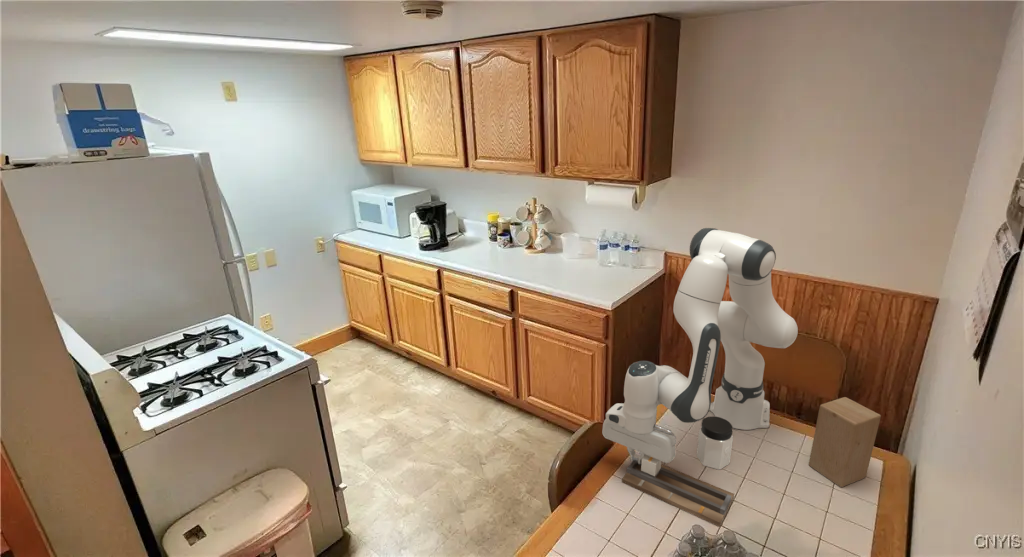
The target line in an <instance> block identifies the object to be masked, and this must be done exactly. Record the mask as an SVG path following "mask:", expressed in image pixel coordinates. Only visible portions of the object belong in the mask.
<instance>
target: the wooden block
mask: <svg viewBox="0 0 1024 557" xmlns="http://www.w3.org/2000/svg"><path fill="white" fill-rule="evenodd" d="M881 417H882V415H881V414H880V413H877V412H875V411H874V410H872V409H870V408H868V407H865V406H864V405H862V404H860V403H858V402H857V401H855V400H852V399H850V398H849V397H846V396H844V397H839V398H837V399H834V400H831V401H828V402H825V403H821V404H820V405H819V410H818V414H817V419H816V425H815V428H814V429H815V431H814V434H813V440H812V445H811V448H810V449H811V450H810V455H809V460H808V466H809V467H810V468H812V469H814V470H815V471H817V472H818V473H819V474H821V475H822V476H824V477H825V478H826V479H828V480H829V481H831V482H832V483H834V484H835V485H837V486H838V487H839V488H843V487H845V486H848V485H851V484H853V483H856V482H858V481H860V480H863V479H865V478H867V474H868V470H869V466H870V462H871V458H872V455H873V454H872V453H873V450H874V446H875V441H876V437H877V434H878V430H879V426H880V421H881Z"/></svg>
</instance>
